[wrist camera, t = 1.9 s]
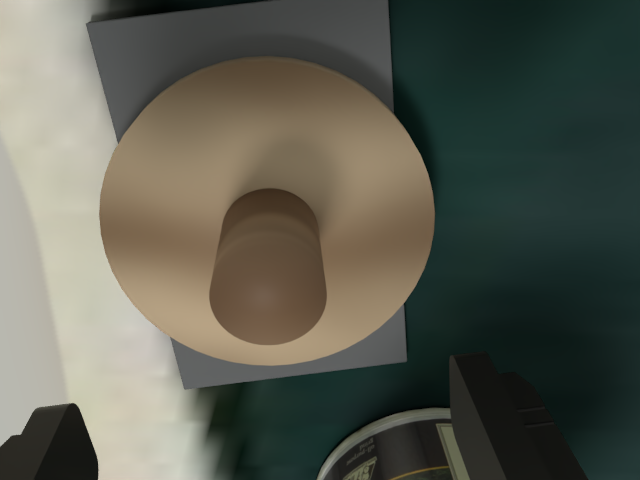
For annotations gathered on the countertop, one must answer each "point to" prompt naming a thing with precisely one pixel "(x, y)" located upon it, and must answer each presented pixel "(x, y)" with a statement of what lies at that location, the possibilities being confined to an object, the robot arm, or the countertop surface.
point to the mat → (238, 42)
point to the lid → (267, 211)
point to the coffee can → (399, 450)
